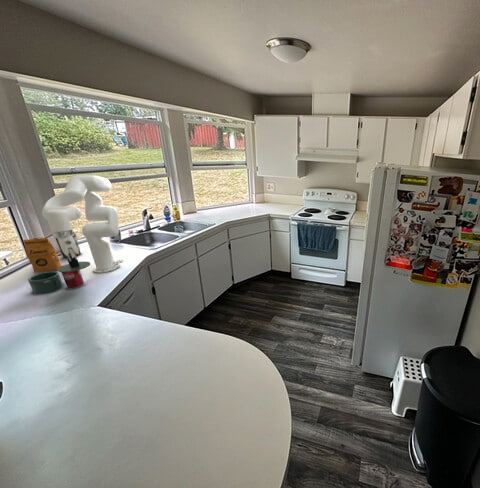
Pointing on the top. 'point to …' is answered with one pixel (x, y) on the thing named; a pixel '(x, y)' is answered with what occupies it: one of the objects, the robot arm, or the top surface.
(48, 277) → the pot
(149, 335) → the top surface
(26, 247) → the coffee package
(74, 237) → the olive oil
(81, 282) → the soda can
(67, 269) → the lid
